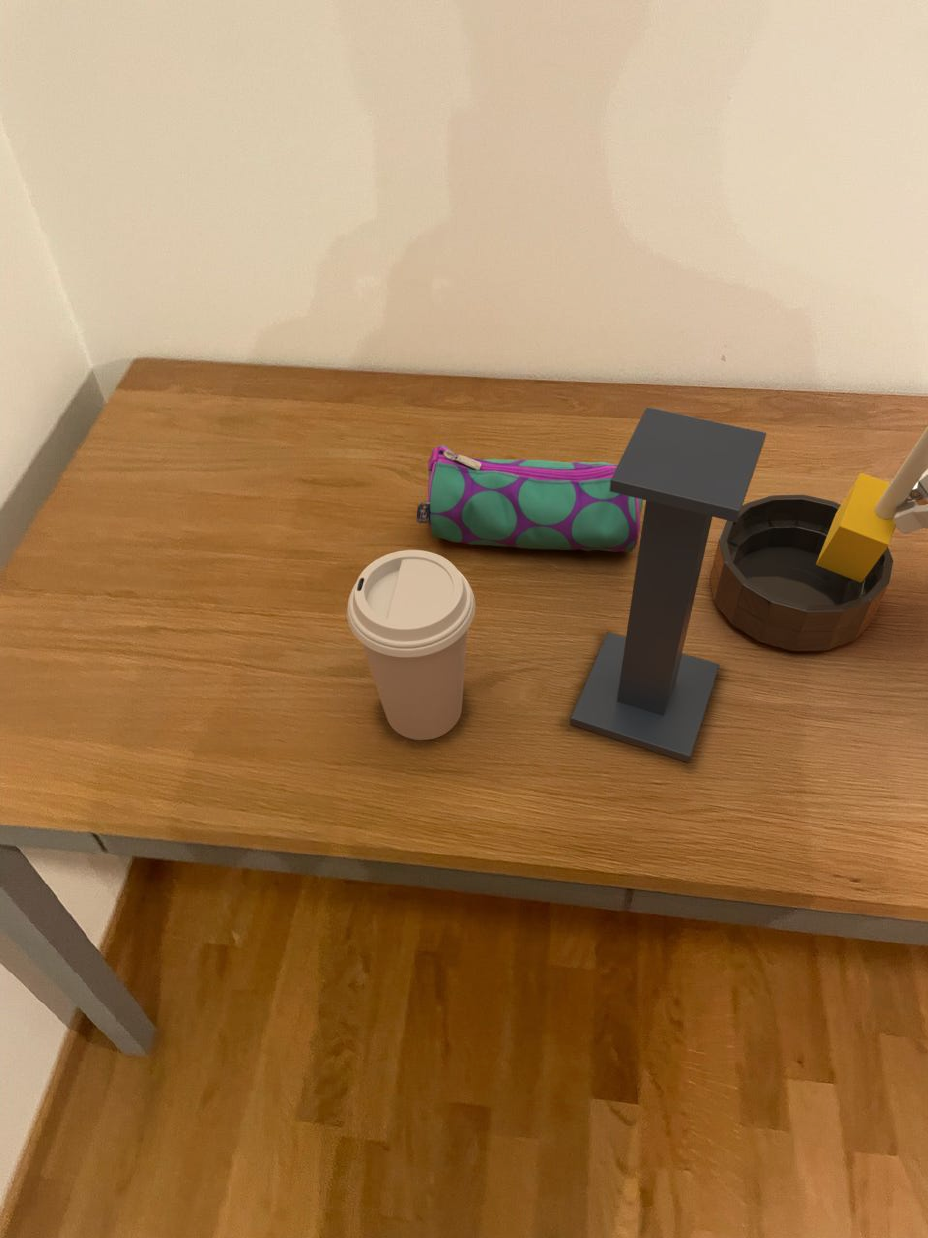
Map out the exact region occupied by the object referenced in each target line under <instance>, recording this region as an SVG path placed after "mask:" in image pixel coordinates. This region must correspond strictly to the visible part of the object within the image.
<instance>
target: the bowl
mask: <svg viewBox="0 0 928 1238" xmlns="http://www.w3.org/2000/svg"><path fill="white" fill-rule="evenodd" d="M840 506H841V504H840V503H838V502H836V501H834V500H829V499H825V498H821V497H817V496H812V495H809V494H804V493H803V494H798V493H797V494H770V495H767V496H764V497H761V498H757V499H755V500H752V501H748V502H744V503H743V505H742V508H741V511H740V514H739V517H738V520H737V522H732V521H728V520H725V521H724V524H723V527H722V529H721V533H720V535H719V537H718V542H717V546H716V550H715V554H714V558H713V562H712V567H711V570H710V575H709V585H710V589H711V593H712V598H713V602H714V604H715V605H716V606H717V608H718V609H719V610H720V611H721V613H722V614H723V615H724V616H725V618H726V619H727V620H728V622H729V623H730V624H731V625H732V626H734V628H737V629H738V630H740V631H741V632H743V633H745V634H747V635H748V636H749V637H751V638H753V639H754V640H755V641H757V642H759V643H762V644H765V645H770V646H773V647H776V648H780V649H784V650H788V651H790V652H821V651H822V652H825V651H829V650H832V649H834V648H837V647H840V646H843V645H845V644H849V643H851V642H853V641H856V639H857V638H858V637H859V636H860V635H861V634H862V633H863V632H864V631H865V630H866V629H867V628H868V627H869V626H870V625H871V624H872V622H873V619H874V618H875V616H876V613H877V611H878V609H879V607H880V605H881V602H882V600H883V599H884V595H885V593H886V591H887V590H888V587H889V585H890V581H891V576H892V571H893V565H894V558H893V556H892V553H891V550H890V548H889V546H888V547H887V548H886V550H885V551H884V553H883V554H882V555H881V557H880V558H879V559H878V561H877V562H876V564H875V565H874V566H873V568H872V569H871V571H870V572H869V573H868V575H867V576H866V577H865V579H864V580H863V582H862V583H860V582H858V581H855V580H853V579H850V578H847V577H845V576H842V575H840V574H837V573H835V572H832V571H830V570H827V569H825V568H822V567H820V566H817V565H816V563H817V560H818V558H819V555H820V553H821V550H822V548H823V545H824V542H825V540H826V537H827V535H828V532H829V530H830V527H831V525H832V522H833V520H834V517H835V515H836V513H837V511H838V509H839V508H840Z"/></svg>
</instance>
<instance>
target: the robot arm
mask: <svg viewBox="0 0 928 1238" xmlns="http://www.w3.org/2000/svg"><path fill="white" fill-rule="evenodd" d="M893 523H894V524H895V525H896V527H895V528H897V529H898V531H899V532H900V533H903V534H910V533H913V532H915V531H919V530H921V529H927V530H928V468H927V469H926V471H925V472H924V473H923V475H922V476H921V478H920V479H919V481H918V482H917V484H916V485H915V486H914V488H913V489H912V491H911V492H910V494H909V495H908V496H907V498H906V499H905V501H904V502H903V504H902V505H899V506H898V507H897V508H896V511H895V515H894V521H893Z"/></svg>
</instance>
